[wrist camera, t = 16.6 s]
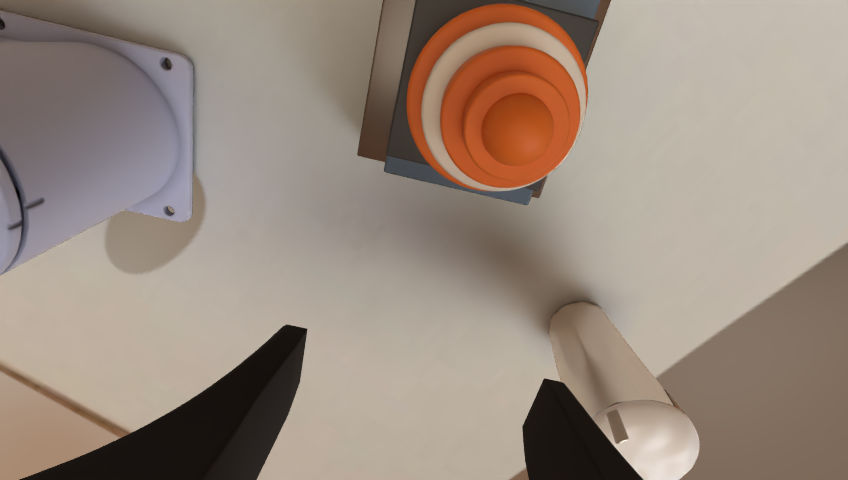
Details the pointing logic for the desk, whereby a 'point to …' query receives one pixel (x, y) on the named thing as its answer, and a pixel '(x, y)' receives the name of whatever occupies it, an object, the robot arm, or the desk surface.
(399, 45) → the base block
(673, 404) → the milkshake
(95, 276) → the desk surface
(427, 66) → the cone
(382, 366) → the desk surface
